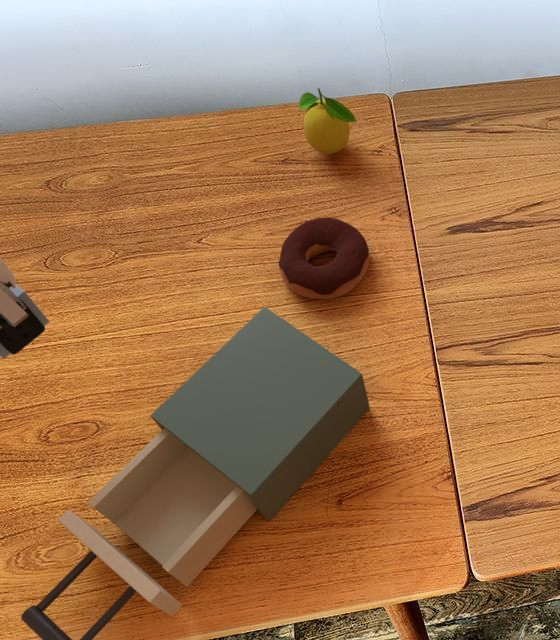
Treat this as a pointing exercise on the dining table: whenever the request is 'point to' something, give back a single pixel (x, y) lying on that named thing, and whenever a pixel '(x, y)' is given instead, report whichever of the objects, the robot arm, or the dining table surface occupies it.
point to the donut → (332, 276)
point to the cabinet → (266, 409)
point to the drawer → (154, 526)
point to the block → (22, 295)
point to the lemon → (325, 123)
